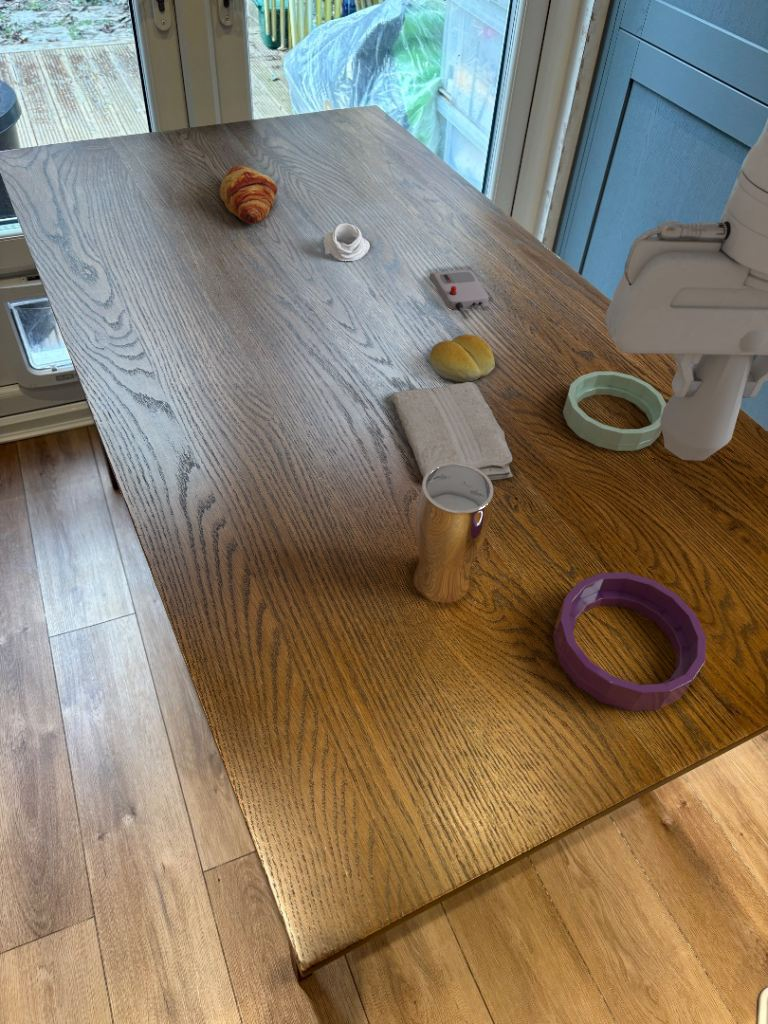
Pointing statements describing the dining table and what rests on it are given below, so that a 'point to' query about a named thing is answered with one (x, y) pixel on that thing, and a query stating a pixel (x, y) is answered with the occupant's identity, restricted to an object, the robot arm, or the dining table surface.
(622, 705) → the purple bangle bracelet
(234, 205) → the croissant
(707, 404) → the grey pawn peg
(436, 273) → the grey electronic control box
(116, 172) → the dining table surface
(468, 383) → the washcloth
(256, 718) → the dining table surface
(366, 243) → the white ruffled cup
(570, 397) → the green faceted bangle
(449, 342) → the bread roll
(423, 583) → the shiny metal tumbler
